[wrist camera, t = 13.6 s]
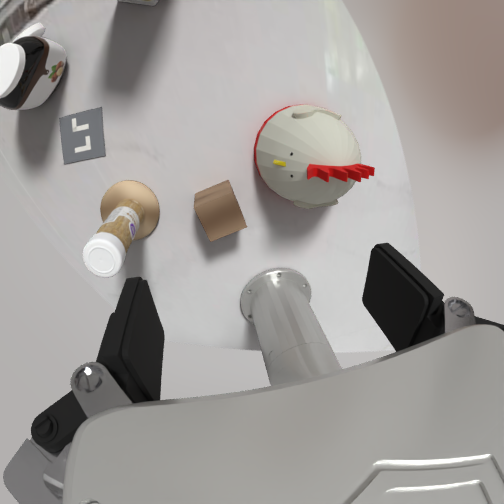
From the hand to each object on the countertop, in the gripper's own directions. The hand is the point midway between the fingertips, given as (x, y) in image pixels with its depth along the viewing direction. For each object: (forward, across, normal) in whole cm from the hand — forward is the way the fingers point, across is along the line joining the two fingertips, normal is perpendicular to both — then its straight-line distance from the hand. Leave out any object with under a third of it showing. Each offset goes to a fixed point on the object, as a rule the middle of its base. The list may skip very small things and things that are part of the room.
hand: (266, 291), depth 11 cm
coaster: (+29, +14, +5) cm, 32 cm away
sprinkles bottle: (+28, +14, +5) cm, 32 cm away
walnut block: (+29, +1, +6) cm, 30 cm away
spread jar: (+29, +26, -21) cm, 44 cm away
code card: (+29, +19, -7) cm, 35 cm away
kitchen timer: (+29, -11, 0) cm, 31 cm away
